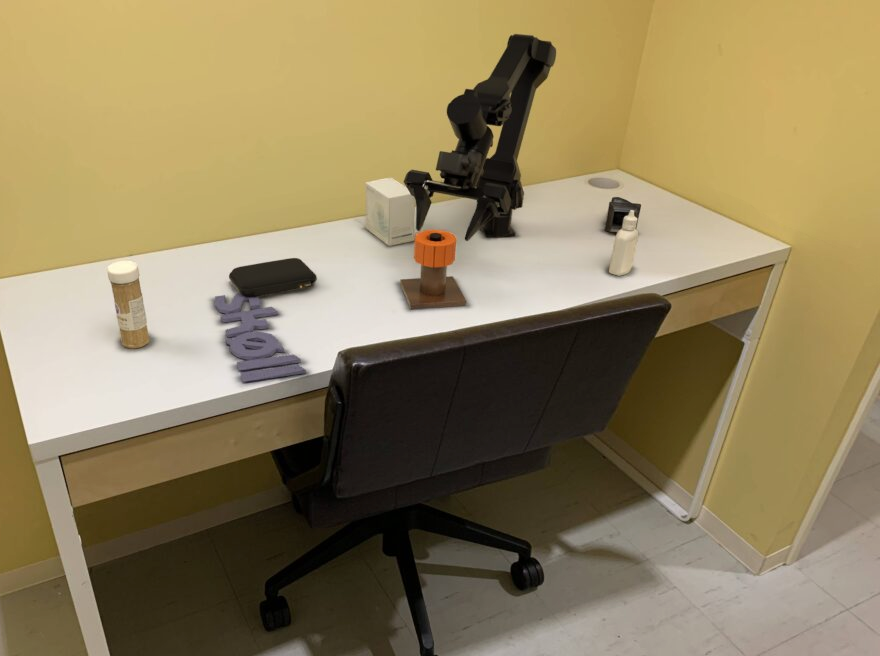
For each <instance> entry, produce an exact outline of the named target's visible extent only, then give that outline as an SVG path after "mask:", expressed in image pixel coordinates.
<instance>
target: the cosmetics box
mask: <svg viewBox="0 0 880 656" xmlns="http://www.w3.org/2000/svg"><path fill="white" fill-rule="evenodd" d="M415 219H416V200H415V198H414V196H412V195H411V194H410V192H409V191H408V189H407V187H406V185H405V184H402V183H401V182H399V181H397V180H396V179H394V178H393V177H391V176H390V177H384V178H380V179H374V180H369V181H366V182H365V229H366V230H367V231H368V232H370V233H371V234H372V235H374V236H375V237H376V238H378V239H379V240H380V241H382V242H383V243H384V244H385V245H386V246H388V247H391V246H392V247H393V246H396V245H400V244H405V243H410V242H415Z"/></svg>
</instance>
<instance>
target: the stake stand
mask: <svg viewBox="0 0 880 656" xmlns="http://www.w3.org/2000/svg"><path fill="white" fill-rule="evenodd" d="M441 237H442V235H441V234H440V233H431V234H430V241H435V242H437V241H441ZM447 273H448V266H445V267H427V266H424V265H423V266H422V265H420V274H419V275H420V277H417V278H401V279H400V280H399V285H400V288H401V290H402V292H403V295H404V297H405V300H406V301H407V305H408V307H409V309H410V310H419V309H420V310H421V309H423V310H424V309H436V308H437V309H438V308H450V307H453V308H454V307H465V306H467V299H466V297H465V295H464V293H463V292H462V290H461V288H460V287H459V285H458V283H457V281H456V279H455V278H454V276H453V275H451V276H450V275H449V276H447Z"/></svg>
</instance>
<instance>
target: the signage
mask: <svg viewBox="0 0 880 656" xmlns="http://www.w3.org/2000/svg"><path fill="white" fill-rule="evenodd" d="M246 301H248V302H249V306H250V307H249V308H250V309H249V310H243V311H242V310H241V309H242V307H243V305H244V303H245V302H246ZM214 307H215V308H216V310H217V311H218V313H221V315H220V320H221V323H229V322H236V321H241V324H240V325H238V326H235V327H231V328H226V329H225V330H224V331H225V335H226V337H227V338H225V343H226V345H229V346H230V353H231V354H232V355H234V356H235V357H237V358H239V359H242V360H241V361H236V366H237V369H238V371H244V372H240V379H241V380H242V382H243V383H245V382H246V383H247V382H252V381H259V380H266V379H274V378H281V377H288V376H295V375H301V374H307V371H306V370H307V369H305V368H304V367H303V366H301V365H299V364H298V363H301V362H302V361H301V358H300V357H298V356H297V355H296V354H293V353H292V354H285V355H278V356H273V355H274V354H276V353H285V351H286V350H285V348H284V346H282V345H279V340H278V339H277V338H276V336H274V335H273V334H272V333H269V332H264V331H254V330H255V329H256V330H266V329H269V328H270V327H269V323H268V321H267V319H266V318H263V319H257V318H262V317H271V316H276V315H278V314H279V313H278V310H277V309H275V308H274V307H272V306H267V307H261V300H260V298H259V296H258V297H257V296H254V297H246V296H244V295H243V294H241V293H240V292H238V293H236V294H235V295H233V298H232V300H231V302H230V304H228V305H227V304H226V295H225V294H224V295H223V294H222V295H216V296H214ZM232 337H233V338H232ZM271 356H272V357H271ZM291 364H294V365H291ZM295 364H296V365H295ZM283 365H287V366H283ZM288 365H289V366H288ZM276 366H281V367H276ZM268 367H269V368H268ZM270 367H274V368H270ZM260 368H261V369H260ZM263 368H266V369H263ZM254 369H259V370H254ZM246 370H247V371H246ZM248 370H252V371H248Z"/></svg>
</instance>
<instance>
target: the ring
mask: <svg viewBox="0 0 880 656" xmlns="http://www.w3.org/2000/svg"><path fill="white" fill-rule="evenodd" d="M431 233H440V234H441V235H442V237H441V241H437V242H435V241H430V234H431ZM413 247H414V248H413V259H414V261H415V263H416V264H419V265H420V266H421V265H422V266H423V265H424V266H427V267H445V266H447V267H448V266H452V264H454V262H455V261H456V251H457V237H456V235H455V234H454V233H451V232H450V231H446V230H440V229H426V230H422V231H418V233H417V234H416V235H414V246H413Z"/></svg>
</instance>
